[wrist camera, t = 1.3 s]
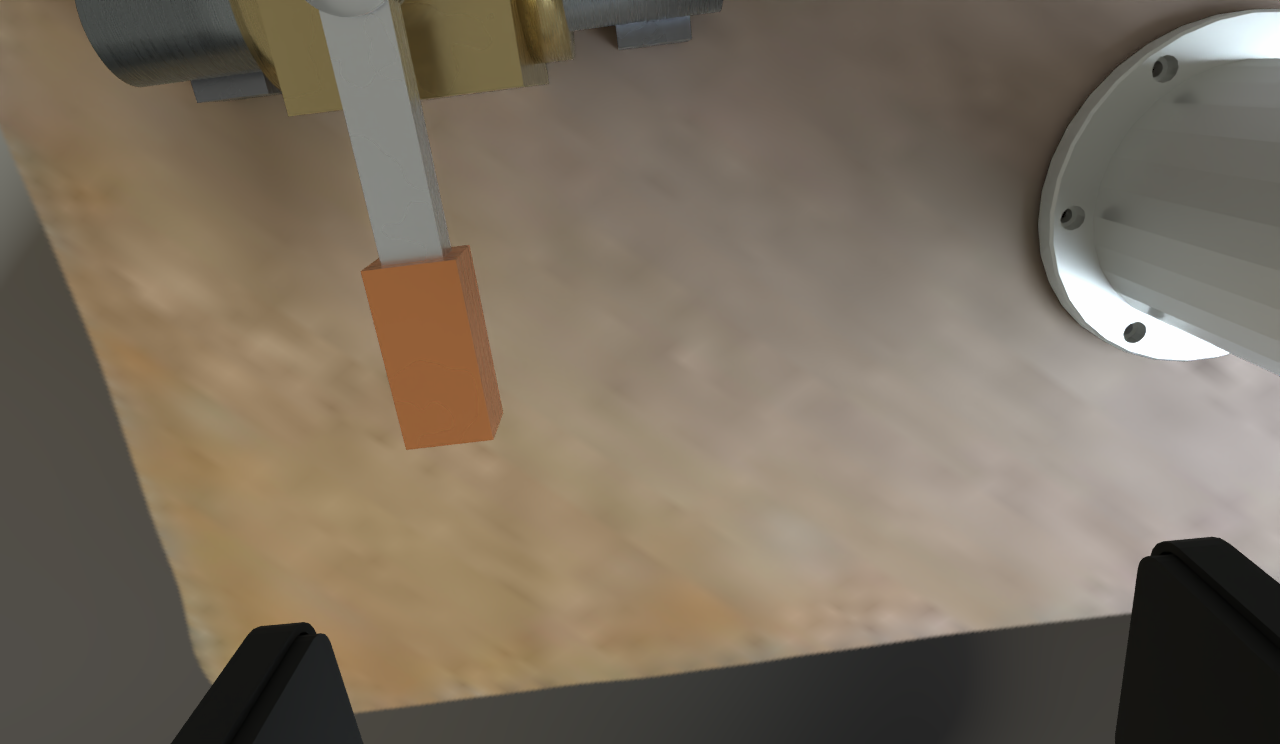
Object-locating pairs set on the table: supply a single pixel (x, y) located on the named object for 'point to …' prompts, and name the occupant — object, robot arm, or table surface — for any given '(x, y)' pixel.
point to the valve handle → (410, 237)
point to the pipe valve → (299, 57)
